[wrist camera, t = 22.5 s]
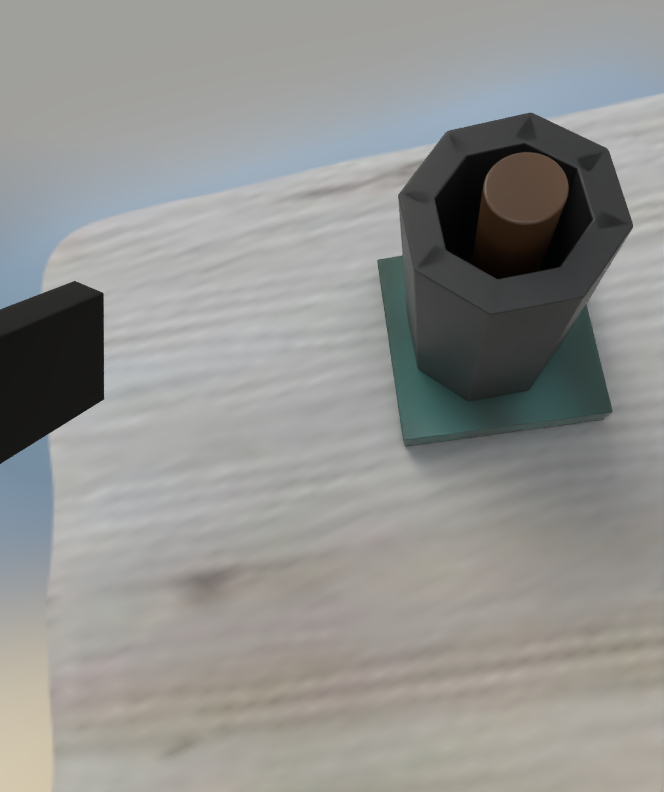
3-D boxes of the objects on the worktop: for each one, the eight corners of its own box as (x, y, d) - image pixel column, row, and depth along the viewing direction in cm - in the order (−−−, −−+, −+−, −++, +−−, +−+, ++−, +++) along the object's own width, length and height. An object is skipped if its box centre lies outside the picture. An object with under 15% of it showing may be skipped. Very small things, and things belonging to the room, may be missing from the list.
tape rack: (561, 242, 33) (651, 27, 20) (603, 419, 31) (741, 307, 17) (379, 273, 34) (349, 88, 21) (404, 446, 32) (388, 360, 18)
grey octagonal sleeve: (537, 252, 32) (592, 97, 21) (573, 383, 30) (653, 283, 19) (400, 279, 32) (387, 143, 22) (425, 409, 30) (425, 327, 20)
